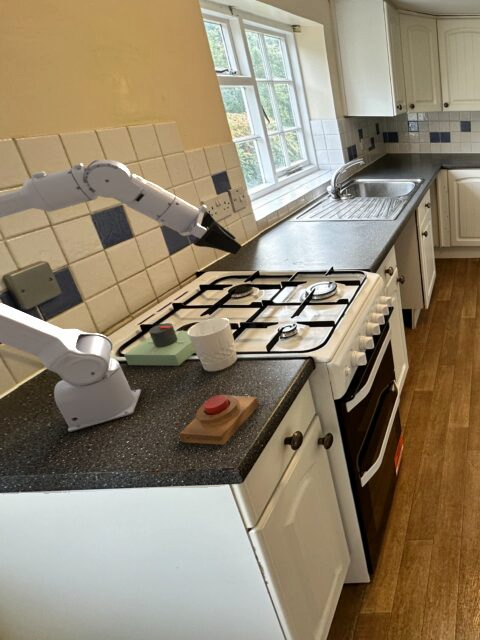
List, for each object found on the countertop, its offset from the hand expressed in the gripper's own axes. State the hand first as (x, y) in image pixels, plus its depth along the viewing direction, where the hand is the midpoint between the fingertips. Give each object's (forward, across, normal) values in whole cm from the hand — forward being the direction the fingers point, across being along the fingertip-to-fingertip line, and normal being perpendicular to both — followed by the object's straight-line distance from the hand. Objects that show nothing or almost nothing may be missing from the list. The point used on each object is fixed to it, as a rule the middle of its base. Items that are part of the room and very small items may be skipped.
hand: (235, 245), depth 88 cm
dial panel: (+9, +18, +32) cm, 38 cm away
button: (+11, -17, +26) cm, 33 cm away
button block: (+14, -17, +28) cm, 36 cm away
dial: (+6, +18, +30) cm, 36 cm away
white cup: (+15, +6, +26) cm, 31 cm away
